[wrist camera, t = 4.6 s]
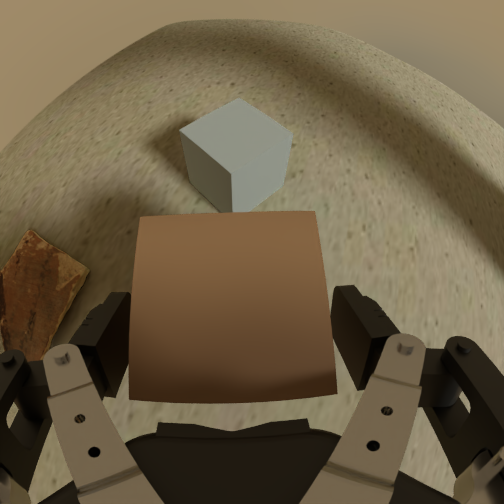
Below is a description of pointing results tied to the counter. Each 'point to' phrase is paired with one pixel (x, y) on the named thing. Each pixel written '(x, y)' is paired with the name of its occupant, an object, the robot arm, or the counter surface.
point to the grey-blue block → (236, 156)
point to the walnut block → (230, 309)
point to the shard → (36, 294)
